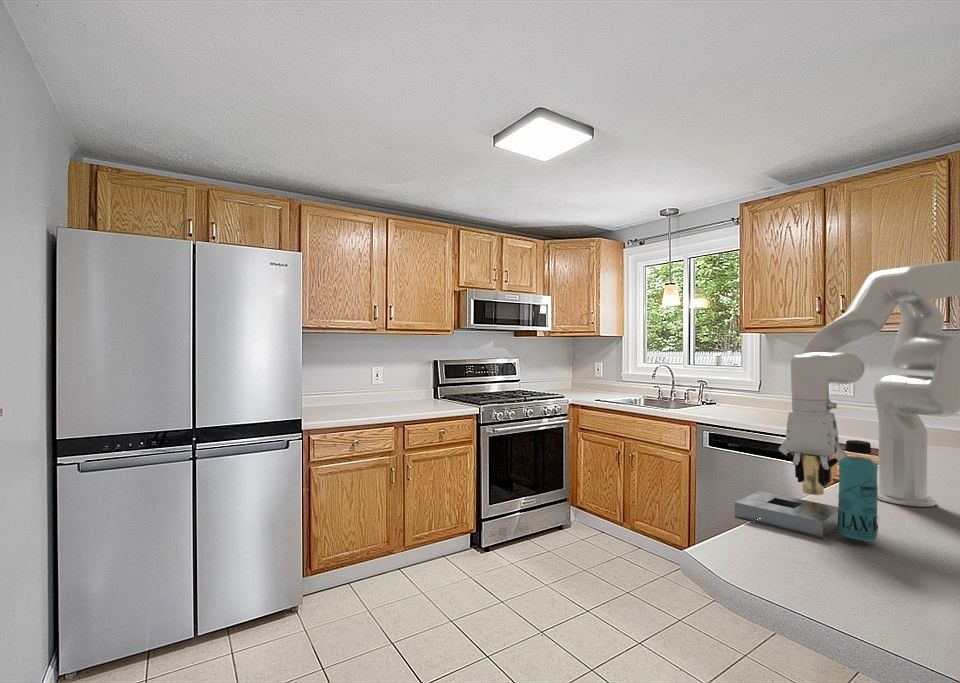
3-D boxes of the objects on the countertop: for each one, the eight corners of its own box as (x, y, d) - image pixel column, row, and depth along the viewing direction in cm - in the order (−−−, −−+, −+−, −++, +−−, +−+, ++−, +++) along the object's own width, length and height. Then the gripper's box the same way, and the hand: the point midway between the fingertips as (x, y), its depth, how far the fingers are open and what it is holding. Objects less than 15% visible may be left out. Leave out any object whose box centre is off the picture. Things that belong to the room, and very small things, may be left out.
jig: (758, 505, 124) (758, 490, 125) (842, 523, 112) (842, 507, 112) (734, 517, 115) (734, 502, 115) (822, 539, 102) (822, 521, 102)
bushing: (806, 488, 125) (804, 451, 125) (826, 492, 122) (824, 454, 122) (800, 492, 122) (799, 454, 122) (820, 496, 119) (819, 457, 119)
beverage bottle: (829, 538, 103) (829, 438, 103) (852, 534, 105) (852, 437, 106) (863, 550, 97) (863, 444, 97) (886, 546, 99) (886, 442, 99)
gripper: (857, 407, 118) (859, 486, 118) (777, 402, 131) (779, 473, 131) (848, 411, 113) (851, 493, 113) (766, 405, 126) (768, 479, 126)
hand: (812, 482), depth 122 cm, fingers closed on bushing, 4 cm apart
